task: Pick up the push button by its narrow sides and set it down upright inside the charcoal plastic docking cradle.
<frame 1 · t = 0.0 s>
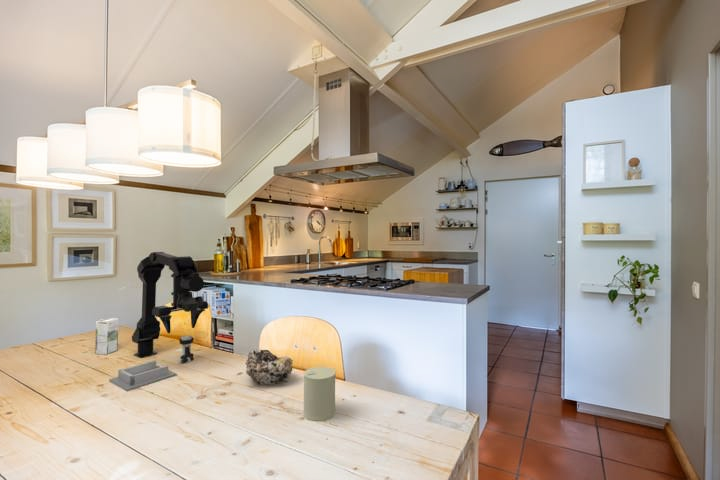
hand: (181, 330, 129), 15 cm above the table, fingers open, 9 cm apart
can: (319, 413, 97), on the table
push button: (184, 362, 136), on the table
mineral specimen: (267, 382, 118), on the table
syrup box: (106, 352, 147), on the table
dock: (143, 378, 120), on the table
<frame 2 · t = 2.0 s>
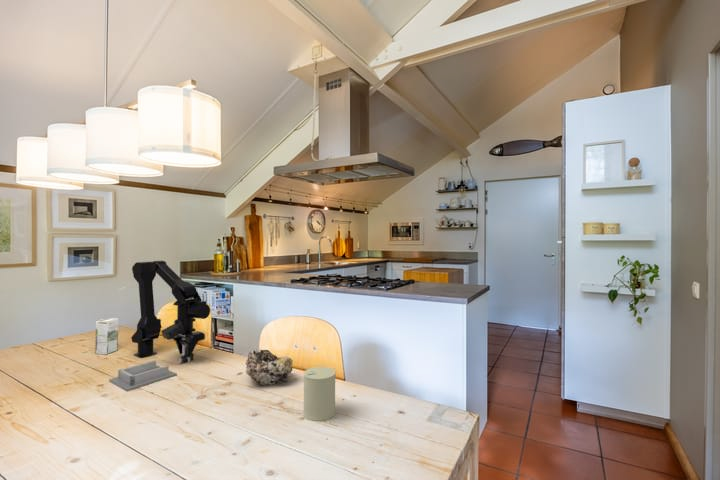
hand: (185, 355, 136), 3 cm above the table, fingers closed on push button, 5 cm apart
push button: (184, 362, 136), on the table, touching gripper
everything else where it was.
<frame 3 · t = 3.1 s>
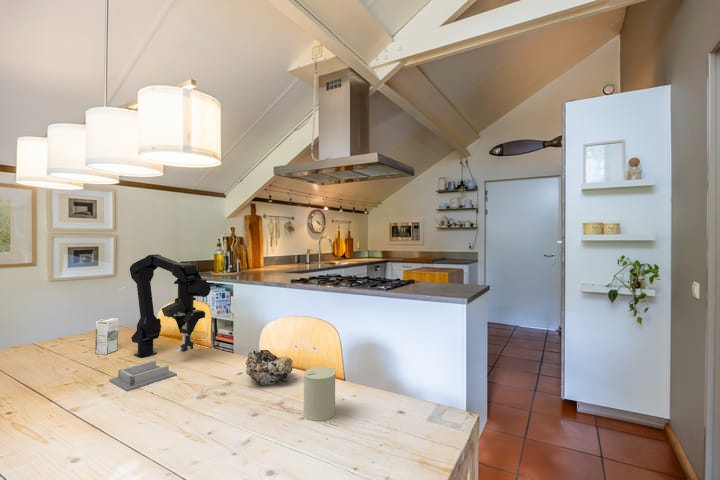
hand: (185, 334, 136), 11 cm above the table, fingers closed on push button, 5 cm apart
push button: (184, 351, 136), point 4 cm above the table, touching gripper
everything else where it was.
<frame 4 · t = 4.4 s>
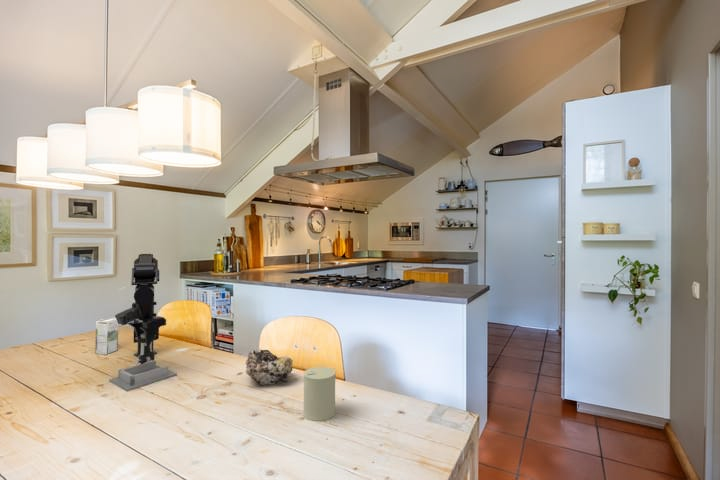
hand: (144, 343, 120), 12 cm above the table, fingers closed on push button, 5 cm apart
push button: (143, 362, 120), point 5 cm above the table, touching gripper
everything else where it was.
when the fingers open (5 cm above the table, at t = 6.0 s): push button stays where it is, resting on dock.
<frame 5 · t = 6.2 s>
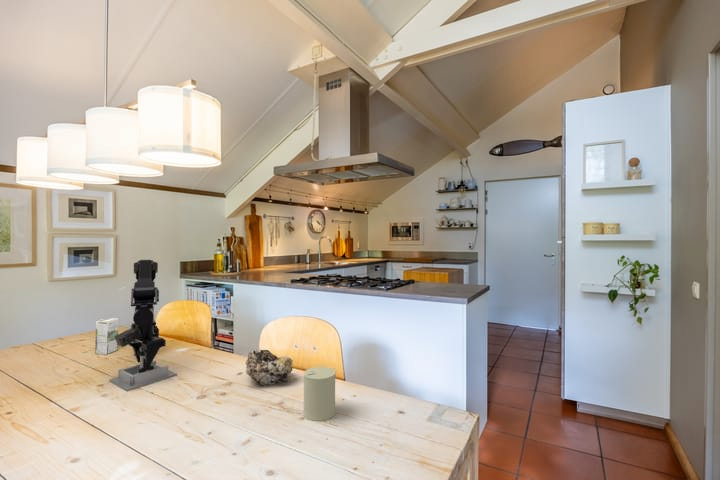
hand: (143, 364, 120), 5 cm above the table, fingers open, 6 cm apart
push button: (143, 376, 120), point 1 cm above the table, touching dock
everything else where it was.
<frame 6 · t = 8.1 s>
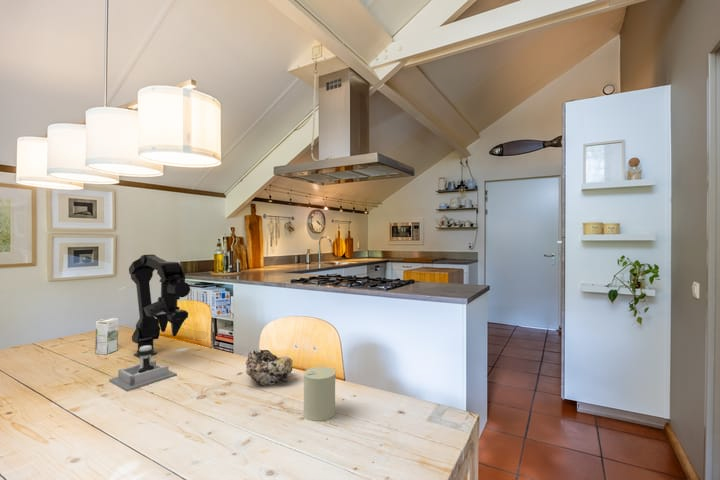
hand: (168, 333, 133), 12 cm above the table, fingers open, 9 cm apart
nothing on the table moved.
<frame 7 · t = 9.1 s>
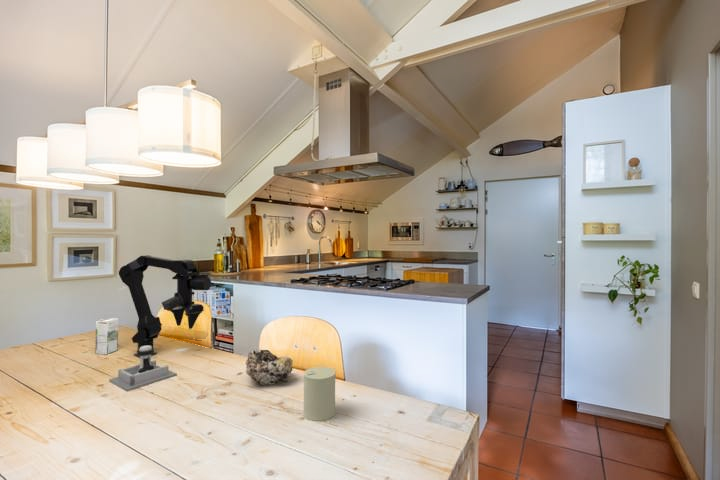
hand: (184, 327, 142), 13 cm above the table, fingers open, 9 cm apart
nothing on the table moved.
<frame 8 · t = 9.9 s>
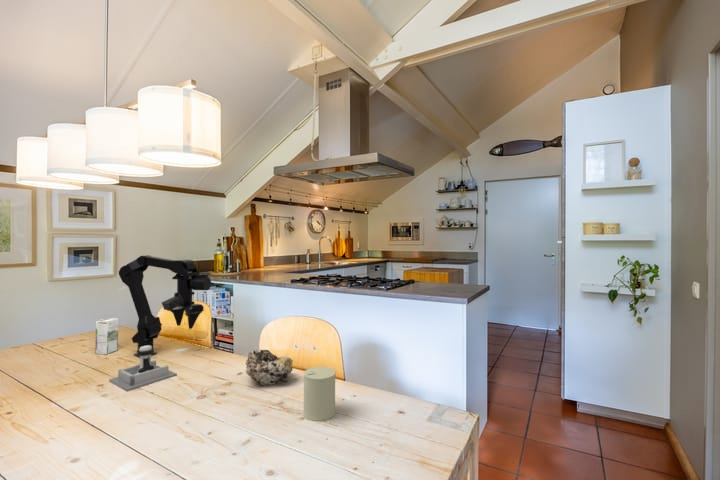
hand: (184, 327, 142), 13 cm above the table, fingers open, 9 cm apart
nothing on the table moved.
at the end: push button inside the target area on the dock (0.5 cm from its centre), point 0.6 cm above the dock's base; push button tilted 0°; the gripper is holding nothing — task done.
